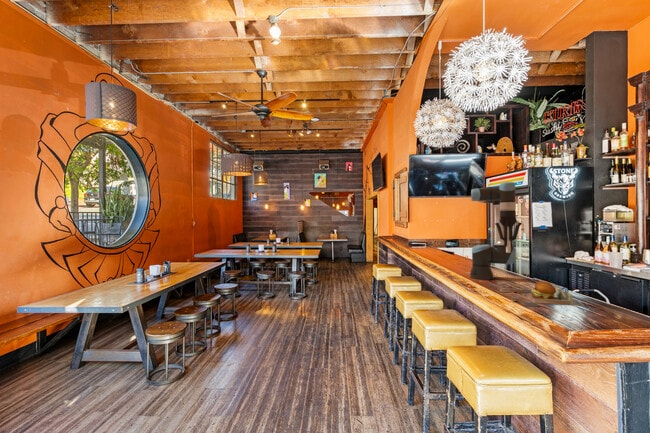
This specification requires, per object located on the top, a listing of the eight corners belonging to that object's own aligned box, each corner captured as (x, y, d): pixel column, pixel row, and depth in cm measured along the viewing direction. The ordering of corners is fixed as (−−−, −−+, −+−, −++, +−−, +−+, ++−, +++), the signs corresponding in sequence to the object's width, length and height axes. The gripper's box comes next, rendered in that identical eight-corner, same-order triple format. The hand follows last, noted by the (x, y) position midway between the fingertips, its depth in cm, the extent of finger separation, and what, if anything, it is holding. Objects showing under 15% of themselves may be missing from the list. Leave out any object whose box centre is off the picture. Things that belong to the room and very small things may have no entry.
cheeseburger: (545, 294, 169) (548, 278, 166) (559, 304, 159) (562, 287, 156) (527, 294, 169) (529, 278, 167) (539, 304, 159) (542, 287, 156)
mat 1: (518, 289, 181) (518, 289, 181) (531, 290, 179) (531, 290, 179) (521, 292, 175) (521, 292, 175) (535, 292, 173) (535, 292, 173)
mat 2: (519, 302, 156) (519, 302, 156) (534, 303, 154) (534, 302, 154) (523, 305, 150) (523, 305, 150) (539, 306, 148) (539, 306, 148)
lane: (500, 291, 177) (500, 283, 177) (553, 293, 170) (553, 285, 170) (512, 301, 157) (512, 292, 157) (572, 304, 150) (572, 294, 150)
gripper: (496, 210, 166) (497, 253, 167) (523, 209, 163) (524, 253, 163) (492, 210, 174) (493, 251, 174) (518, 209, 170) (519, 251, 170)
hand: (508, 252), depth 169 cm, fingers closed
